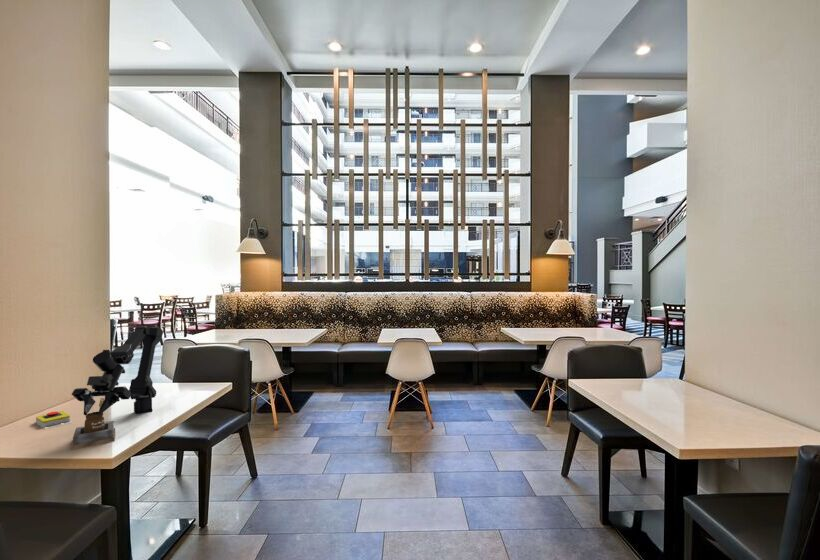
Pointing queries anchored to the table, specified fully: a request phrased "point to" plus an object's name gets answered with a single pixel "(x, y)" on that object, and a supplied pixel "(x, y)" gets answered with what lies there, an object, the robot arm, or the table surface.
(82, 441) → the pocket plate
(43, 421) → the emergency button
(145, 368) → the robot arm
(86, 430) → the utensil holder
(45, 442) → the table surface
